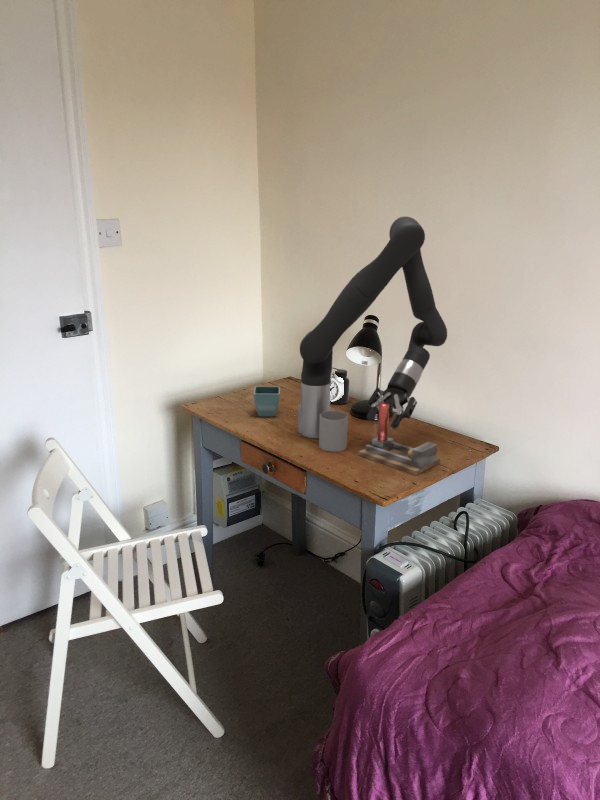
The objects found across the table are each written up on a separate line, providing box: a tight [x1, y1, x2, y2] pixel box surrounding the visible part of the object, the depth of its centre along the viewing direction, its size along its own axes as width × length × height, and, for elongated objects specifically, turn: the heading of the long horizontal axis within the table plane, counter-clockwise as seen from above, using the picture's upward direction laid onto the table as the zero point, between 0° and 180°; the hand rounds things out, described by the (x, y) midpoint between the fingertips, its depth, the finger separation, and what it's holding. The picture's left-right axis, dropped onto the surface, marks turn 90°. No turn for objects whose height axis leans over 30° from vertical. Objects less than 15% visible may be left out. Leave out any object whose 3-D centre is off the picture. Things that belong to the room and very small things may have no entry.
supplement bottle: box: [334, 368, 350, 405], centre depth 237 cm, size 7×7×12 cm
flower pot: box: [253, 385, 281, 418], centre depth 224 cm, size 9×9×9 cm
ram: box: [371, 401, 394, 451], centre depth 191 cm, size 4×5×14 cm
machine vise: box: [358, 441, 441, 476], centre depth 188 cm, size 20×12×6 cm, turn 47°
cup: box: [318, 410, 349, 452], centre depth 197 cm, size 8×8×10 cm
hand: (380, 423), depth 189 cm, fingers open, 8 cm apart
